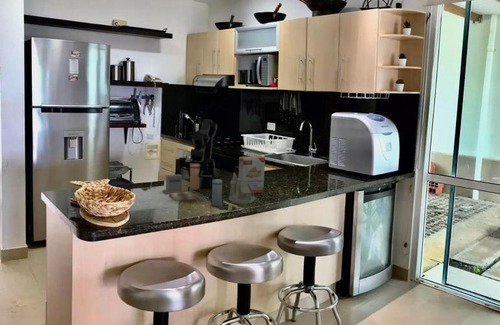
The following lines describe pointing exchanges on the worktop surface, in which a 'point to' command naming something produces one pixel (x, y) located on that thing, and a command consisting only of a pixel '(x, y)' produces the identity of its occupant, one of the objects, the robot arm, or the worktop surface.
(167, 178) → the service housing
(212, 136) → the robot arm
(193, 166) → the terracotta cartridge
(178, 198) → the birch dock plate
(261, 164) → the cracker box
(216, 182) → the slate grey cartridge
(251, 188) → the ceramic cottage
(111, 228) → the worktop surface
